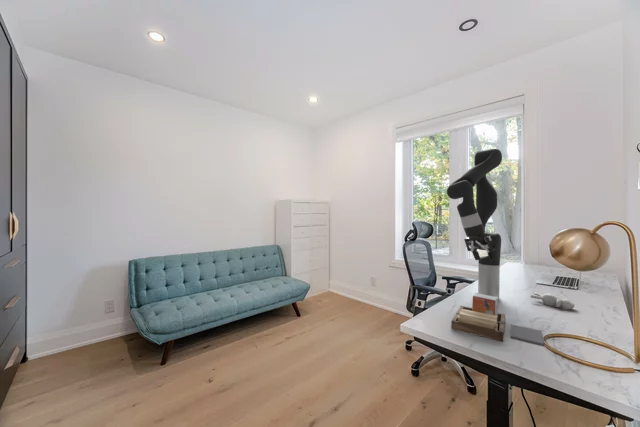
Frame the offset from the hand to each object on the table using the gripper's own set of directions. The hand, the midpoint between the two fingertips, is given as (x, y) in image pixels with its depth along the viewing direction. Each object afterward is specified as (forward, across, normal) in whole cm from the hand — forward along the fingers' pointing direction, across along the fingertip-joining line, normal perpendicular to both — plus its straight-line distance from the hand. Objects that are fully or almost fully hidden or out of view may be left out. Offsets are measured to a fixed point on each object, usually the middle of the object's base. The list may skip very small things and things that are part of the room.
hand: (485, 260), depth 116 cm
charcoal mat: (+24, -18, +9) cm, 31 cm away
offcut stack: (+20, -11, +23) cm, 32 cm away
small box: (+21, -6, +15) cm, 26 cm away
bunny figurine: (+32, +6, -30) cm, 44 cm away
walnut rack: (+20, -8, +19) cm, 29 cm away
